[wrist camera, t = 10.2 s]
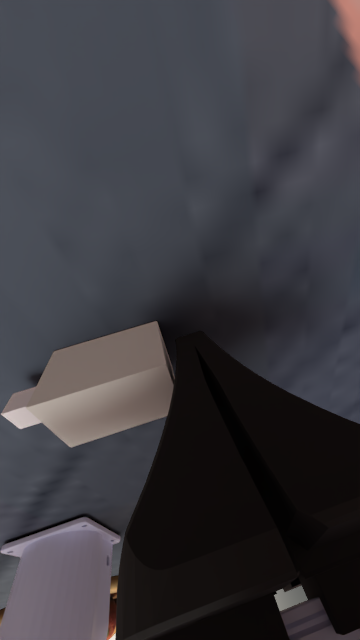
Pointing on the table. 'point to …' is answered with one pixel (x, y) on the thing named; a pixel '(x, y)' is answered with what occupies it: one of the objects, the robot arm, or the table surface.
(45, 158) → the table surface
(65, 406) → the cable plug
